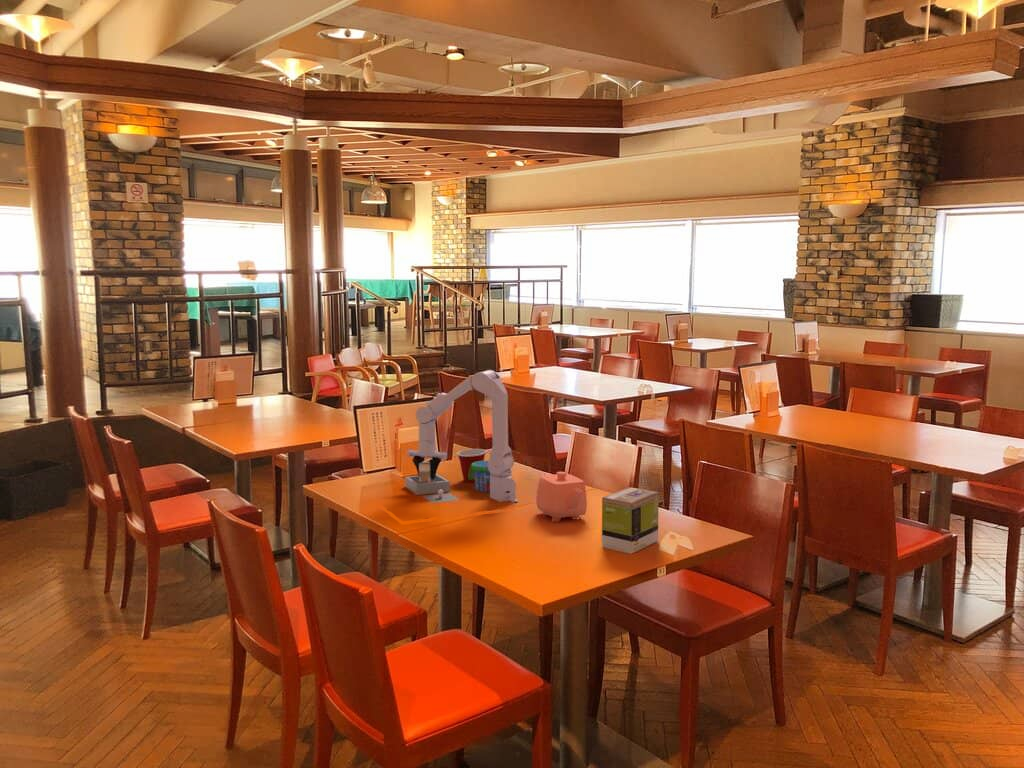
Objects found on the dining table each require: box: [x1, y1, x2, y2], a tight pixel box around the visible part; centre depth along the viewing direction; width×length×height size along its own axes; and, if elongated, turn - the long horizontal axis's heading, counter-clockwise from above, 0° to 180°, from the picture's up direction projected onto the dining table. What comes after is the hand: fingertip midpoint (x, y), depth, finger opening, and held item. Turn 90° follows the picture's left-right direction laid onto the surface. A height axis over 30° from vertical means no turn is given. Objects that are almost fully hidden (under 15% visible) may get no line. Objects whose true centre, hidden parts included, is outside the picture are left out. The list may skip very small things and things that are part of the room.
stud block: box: [421, 490, 461, 504], centre depth 275 cm, size 10×10×4 cm
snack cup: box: [468, 460, 490, 493], centre depth 286 cm, size 16×10×10 cm
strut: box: [418, 460, 434, 484], centre depth 286 cm, size 4×4×8 cm
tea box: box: [601, 486, 659, 555], centre depth 230 cm, size 15×10×15 cm
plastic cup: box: [456, 448, 487, 484], centre depth 299 cm, size 11×11×12 cm
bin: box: [404, 473, 450, 496], centre depth 286 cm, size 12×12×4 cm
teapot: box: [535, 471, 588, 522], centre depth 257 cm, size 22×13×14 cm, turn 24°
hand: (427, 477), depth 286 cm, fingers closed on strut, 4 cm apart
